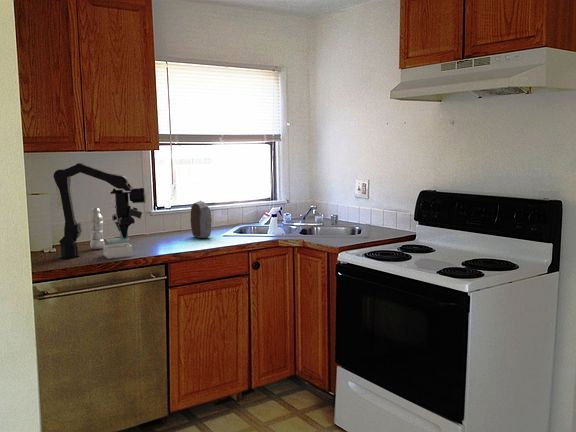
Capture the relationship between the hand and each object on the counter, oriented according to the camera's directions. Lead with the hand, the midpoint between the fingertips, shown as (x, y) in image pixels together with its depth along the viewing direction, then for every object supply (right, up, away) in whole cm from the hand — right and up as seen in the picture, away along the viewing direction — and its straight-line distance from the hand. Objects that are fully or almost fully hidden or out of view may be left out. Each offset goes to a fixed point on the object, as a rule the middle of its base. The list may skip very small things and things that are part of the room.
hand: (124, 237), depth 252 cm
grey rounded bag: (+29, -2, +47) cm, 55 cm away
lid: (-3, -2, -1) cm, 3 cm away
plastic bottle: (-18, -7, +17) cm, 25 cm away
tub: (-3, -8, 0) cm, 9 cm away
